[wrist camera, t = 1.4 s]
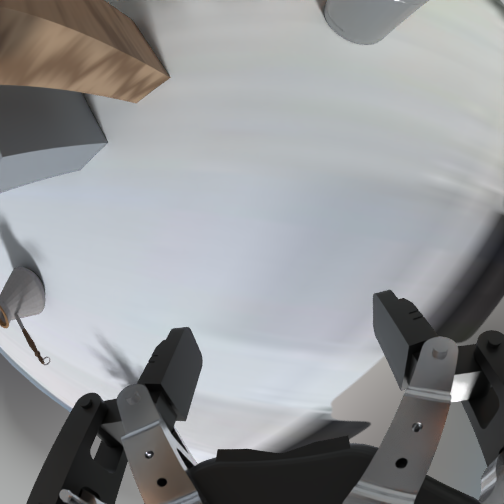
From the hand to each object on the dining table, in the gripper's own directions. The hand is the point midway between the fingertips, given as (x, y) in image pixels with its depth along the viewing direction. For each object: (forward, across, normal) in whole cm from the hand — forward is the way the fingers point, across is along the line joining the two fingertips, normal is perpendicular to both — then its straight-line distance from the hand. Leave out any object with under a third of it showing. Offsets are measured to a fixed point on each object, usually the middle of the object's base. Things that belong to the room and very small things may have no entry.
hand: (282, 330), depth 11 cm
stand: (+26, +14, -27) cm, 40 cm away
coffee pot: (+28, +50, +6) cm, 58 cm away
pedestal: (+26, +26, -20) cm, 42 cm away
